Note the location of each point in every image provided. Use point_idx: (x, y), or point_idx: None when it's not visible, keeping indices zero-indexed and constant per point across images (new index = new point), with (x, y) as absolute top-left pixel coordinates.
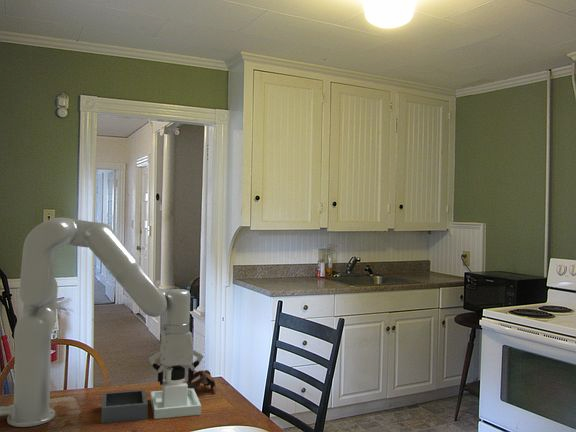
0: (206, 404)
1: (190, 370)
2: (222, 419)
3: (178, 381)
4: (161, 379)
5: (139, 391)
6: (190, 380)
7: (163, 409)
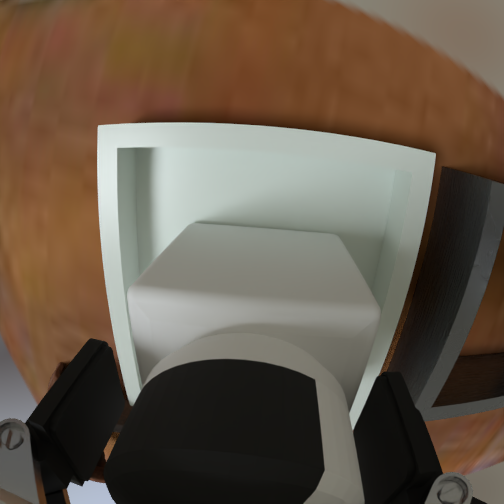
0: (85, 264)
1: (44, 435)
2: (51, 48)
3: (217, 346)
4: (408, 410)
5: (439, 405)
6: (88, 351)
7: (377, 142)
